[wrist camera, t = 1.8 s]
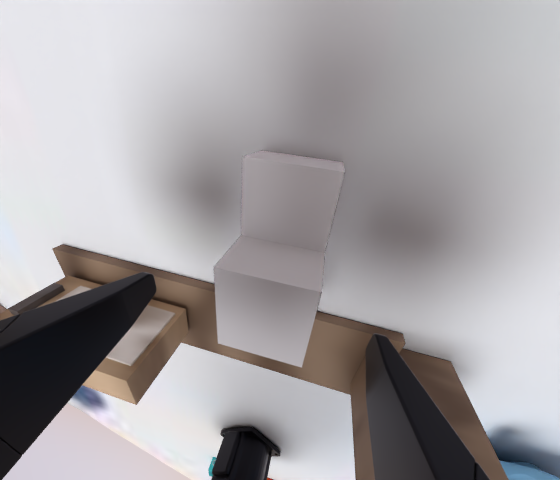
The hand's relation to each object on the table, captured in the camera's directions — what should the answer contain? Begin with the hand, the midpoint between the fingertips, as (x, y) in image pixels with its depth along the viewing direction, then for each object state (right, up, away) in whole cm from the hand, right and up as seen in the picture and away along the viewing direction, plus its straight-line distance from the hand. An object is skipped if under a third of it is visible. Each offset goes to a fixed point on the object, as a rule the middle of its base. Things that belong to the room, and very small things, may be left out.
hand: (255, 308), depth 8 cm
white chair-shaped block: (+2, +3, +5) cm, 7 cm away
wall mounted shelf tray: (-13, -3, +11) cm, 17 cm away
